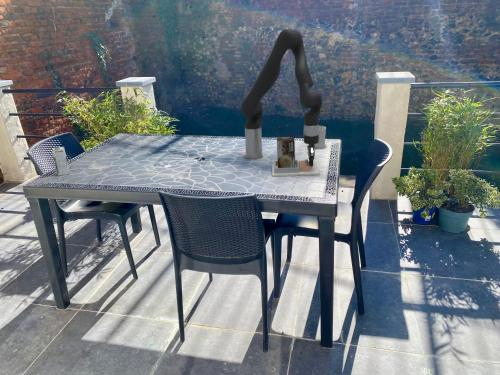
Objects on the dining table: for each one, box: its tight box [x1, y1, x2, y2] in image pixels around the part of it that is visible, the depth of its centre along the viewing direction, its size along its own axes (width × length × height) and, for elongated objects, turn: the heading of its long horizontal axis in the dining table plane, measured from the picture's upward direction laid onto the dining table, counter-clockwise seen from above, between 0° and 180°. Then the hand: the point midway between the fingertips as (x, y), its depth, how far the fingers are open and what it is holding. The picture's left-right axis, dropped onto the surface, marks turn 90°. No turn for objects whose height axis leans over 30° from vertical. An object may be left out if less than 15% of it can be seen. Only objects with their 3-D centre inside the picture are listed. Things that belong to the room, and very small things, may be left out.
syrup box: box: [51, 146, 70, 177], centre depth 217 cm, size 6×6×14 cm
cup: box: [314, 125, 327, 150], centre depth 239 cm, size 10×9×12 cm
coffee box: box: [276, 136, 296, 168], centre depth 203 cm, size 9×6×16 cm
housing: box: [271, 159, 321, 178], centre depth 205 cm, size 24×16×4 cm
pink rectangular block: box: [298, 158, 310, 172], centre depth 204 cm, size 5×10×3 cm, turn 177°
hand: (311, 166), depth 205 cm, fingers closed
